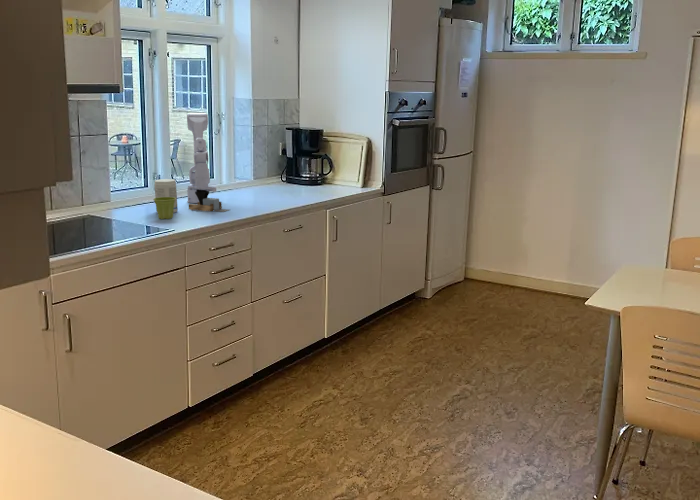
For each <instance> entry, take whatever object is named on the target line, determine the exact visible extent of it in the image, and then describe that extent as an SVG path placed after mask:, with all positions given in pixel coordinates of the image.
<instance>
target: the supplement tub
mask: <svg viewBox="0 0 700 500" xmlns="http://www.w3.org/2000/svg"><path fill="white" fill-rule="evenodd" d="M154 195H155V196H154V198H159V197H174V198H176V199H175V202H174V209H173V214H174V213H176V212H178V197H177V196H178V194H177V182H176V179H172V178H163V179H156V180H154ZM155 209H156V212H157V208H156V207H155Z"/></svg>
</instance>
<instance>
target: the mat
mask: <svg viewBox="0 0 700 500" xmlns="http://www.w3.org/2000/svg"><path fill="white" fill-rule="evenodd" d="M229 211H230V209H226V208H222V209H218V210H213V212H219V213H225V212H229Z"/></svg>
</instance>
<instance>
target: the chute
mask: <svg viewBox="0 0 700 500" xmlns="http://www.w3.org/2000/svg"><path fill="white" fill-rule="evenodd" d="M222 207H223V206H222V201H219V209H223V208H222ZM188 210H190V211H202V212H214V210H213V204H210V206H209V205H200V202H197V203H188Z"/></svg>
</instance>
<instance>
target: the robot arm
mask: <svg viewBox="0 0 700 500" xmlns="http://www.w3.org/2000/svg"><path fill="white" fill-rule="evenodd" d="M186 123H187V124H186V125H187V129H188V131H190V132H192V136H193V138H192V139H193V162H194V165H192V166H191V167H190V168H189V169H188V170H189V172H188V175H189V178H188V179H189V185H187V190H186V191H187V201H186V203H188V204H197V202H200V205H203V199H205V198H209V197H208V196H209V194H210V192H211V193H212V192H213V193H216V192H217V186H210V185H209V184H210V183H211V178H210V177H211V176H210V169H209V167H208V164H209V152H208V150H207V141H206V140H205V139H204V132H205V131H207V129H208V127H209V126H208V125H209V116H208V113H206V112H205V113H204V112H188V113H187V114H186Z"/></svg>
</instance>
